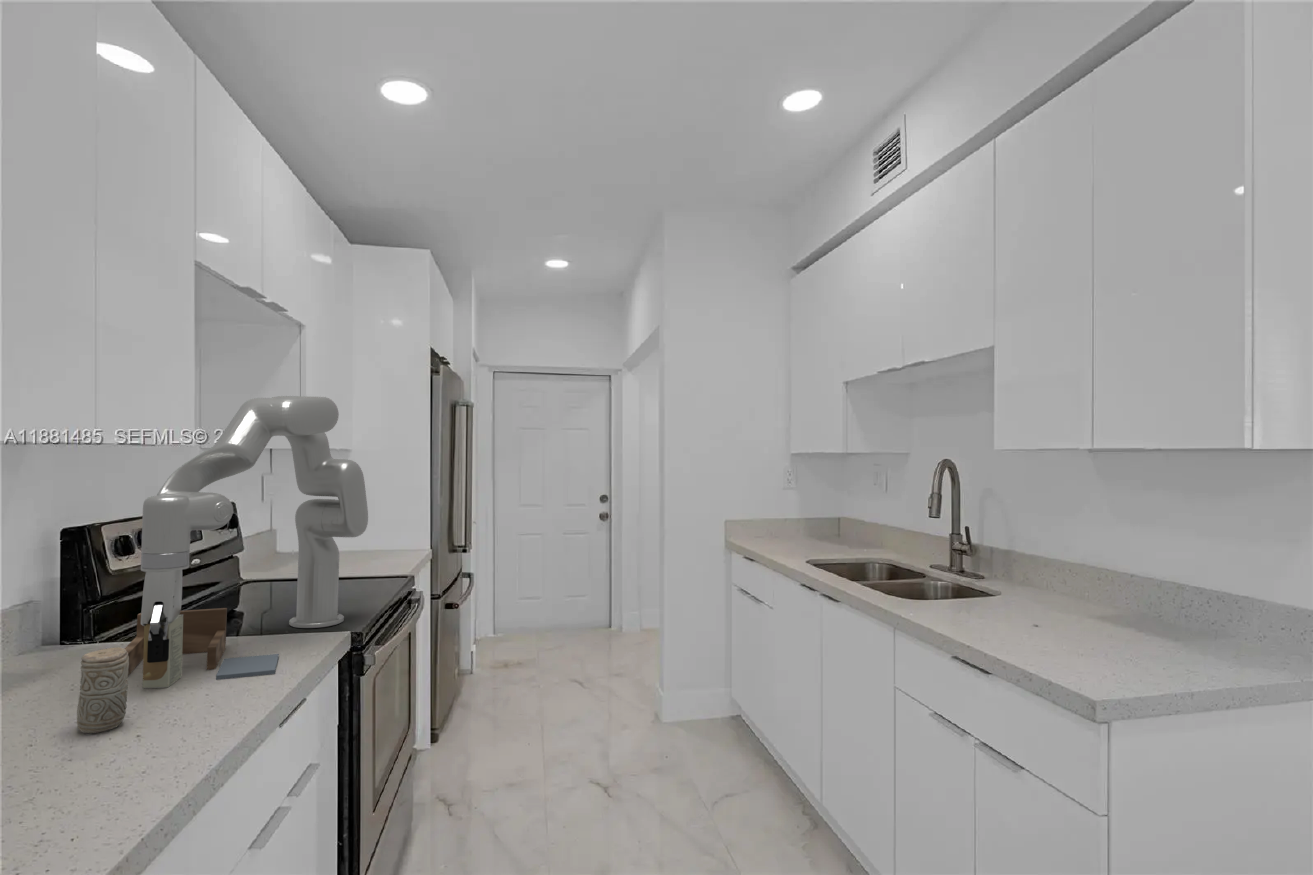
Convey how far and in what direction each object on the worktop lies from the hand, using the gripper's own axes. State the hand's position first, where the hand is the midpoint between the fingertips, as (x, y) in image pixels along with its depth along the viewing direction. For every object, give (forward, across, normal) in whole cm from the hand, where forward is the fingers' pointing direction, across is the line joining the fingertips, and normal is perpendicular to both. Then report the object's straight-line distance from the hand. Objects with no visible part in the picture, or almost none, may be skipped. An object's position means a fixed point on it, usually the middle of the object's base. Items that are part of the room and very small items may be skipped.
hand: (162, 655), depth 132 cm
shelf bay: (+5, -14, 0) cm, 15 cm away
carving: (+5, +21, -4) cm, 22 cm away
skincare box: (+5, 0, 0) cm, 5 cm away
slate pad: (+5, -5, +14) cm, 16 cm away
